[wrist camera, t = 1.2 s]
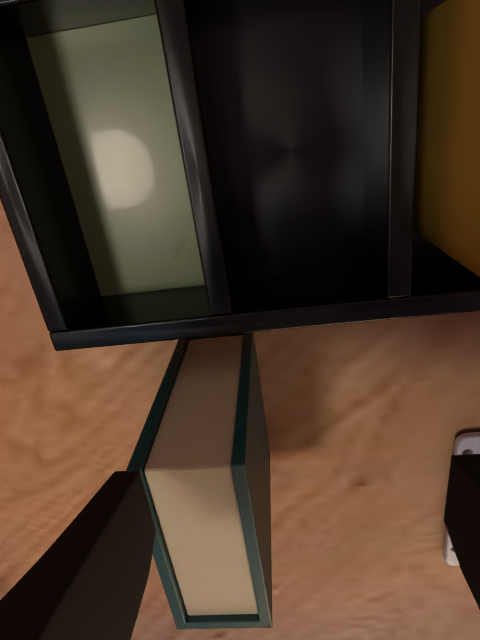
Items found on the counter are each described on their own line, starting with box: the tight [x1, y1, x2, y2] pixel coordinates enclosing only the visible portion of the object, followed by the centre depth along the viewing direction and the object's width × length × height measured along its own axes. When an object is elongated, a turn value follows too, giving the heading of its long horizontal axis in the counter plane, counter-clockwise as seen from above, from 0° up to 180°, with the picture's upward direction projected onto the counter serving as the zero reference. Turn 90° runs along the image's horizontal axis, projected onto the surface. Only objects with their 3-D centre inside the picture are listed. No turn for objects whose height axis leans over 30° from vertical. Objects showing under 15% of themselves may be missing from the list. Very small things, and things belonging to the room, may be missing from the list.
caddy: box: [0, 0, 480, 351], centre depth 14 cm, size 11×19×4 cm, turn 98°
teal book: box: [126, 332, 272, 629], centre depth 17 cm, size 8×3×8 cm, turn 8°
